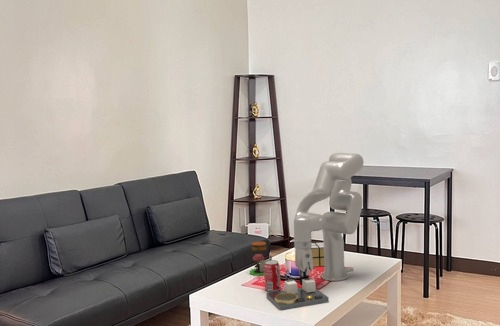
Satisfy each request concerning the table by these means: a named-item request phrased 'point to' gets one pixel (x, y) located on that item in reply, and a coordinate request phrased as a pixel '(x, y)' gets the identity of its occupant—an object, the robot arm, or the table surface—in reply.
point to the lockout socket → (286, 295)
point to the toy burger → (259, 258)
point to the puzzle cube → (318, 254)
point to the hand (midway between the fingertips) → (304, 284)
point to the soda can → (272, 276)
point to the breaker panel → (302, 300)
